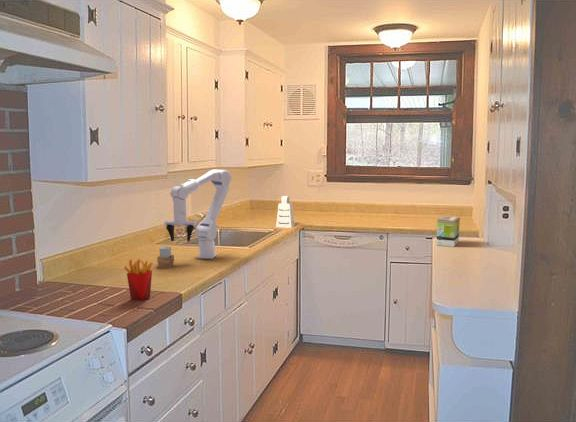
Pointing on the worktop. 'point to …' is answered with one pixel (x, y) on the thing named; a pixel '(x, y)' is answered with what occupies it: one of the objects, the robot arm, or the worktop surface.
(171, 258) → the slab top
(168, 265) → the slab base
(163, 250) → the gray cube
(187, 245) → the worktop surface
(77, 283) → the worktop surface
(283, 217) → the grater
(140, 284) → the french fries
